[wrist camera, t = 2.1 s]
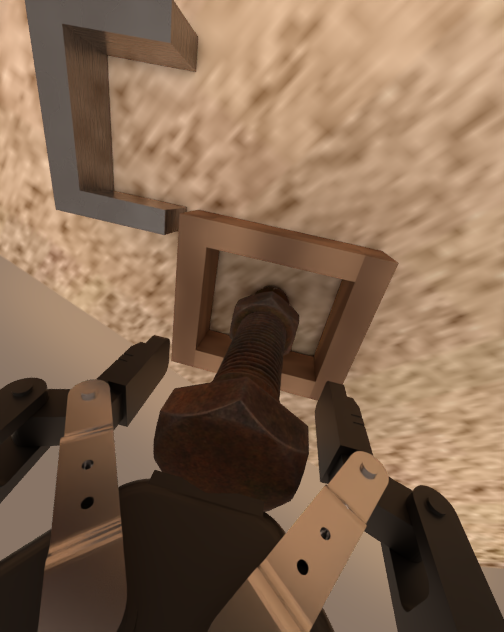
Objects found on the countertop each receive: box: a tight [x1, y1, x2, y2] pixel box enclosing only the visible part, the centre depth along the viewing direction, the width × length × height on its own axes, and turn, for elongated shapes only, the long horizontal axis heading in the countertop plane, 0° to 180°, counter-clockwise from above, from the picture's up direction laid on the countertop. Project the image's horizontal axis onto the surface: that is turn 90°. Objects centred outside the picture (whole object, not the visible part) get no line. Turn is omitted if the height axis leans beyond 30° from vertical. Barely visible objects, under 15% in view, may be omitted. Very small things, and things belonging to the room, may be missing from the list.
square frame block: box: [171, 210, 398, 400], centre depth 20 cm, size 14×12×4 cm
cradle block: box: [25, 0, 198, 235], centre depth 17 cm, size 8×11×4 cm
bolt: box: [154, 286, 309, 512], centre depth 15 cm, size 6×5×15 cm
